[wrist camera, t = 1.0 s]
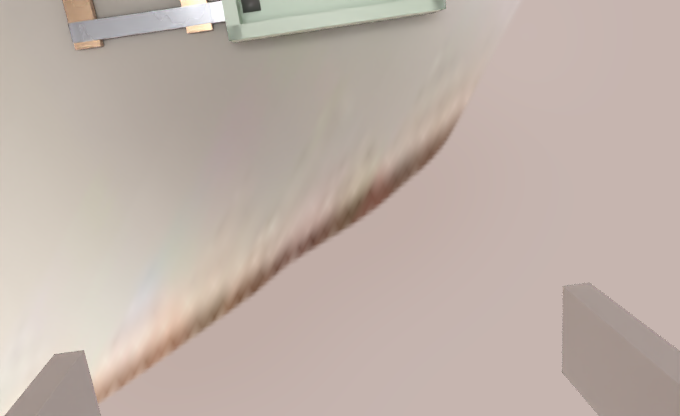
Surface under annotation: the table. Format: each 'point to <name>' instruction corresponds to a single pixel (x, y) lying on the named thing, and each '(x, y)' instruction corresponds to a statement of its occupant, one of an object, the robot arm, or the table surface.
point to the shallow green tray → (313, 15)
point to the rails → (138, 21)
